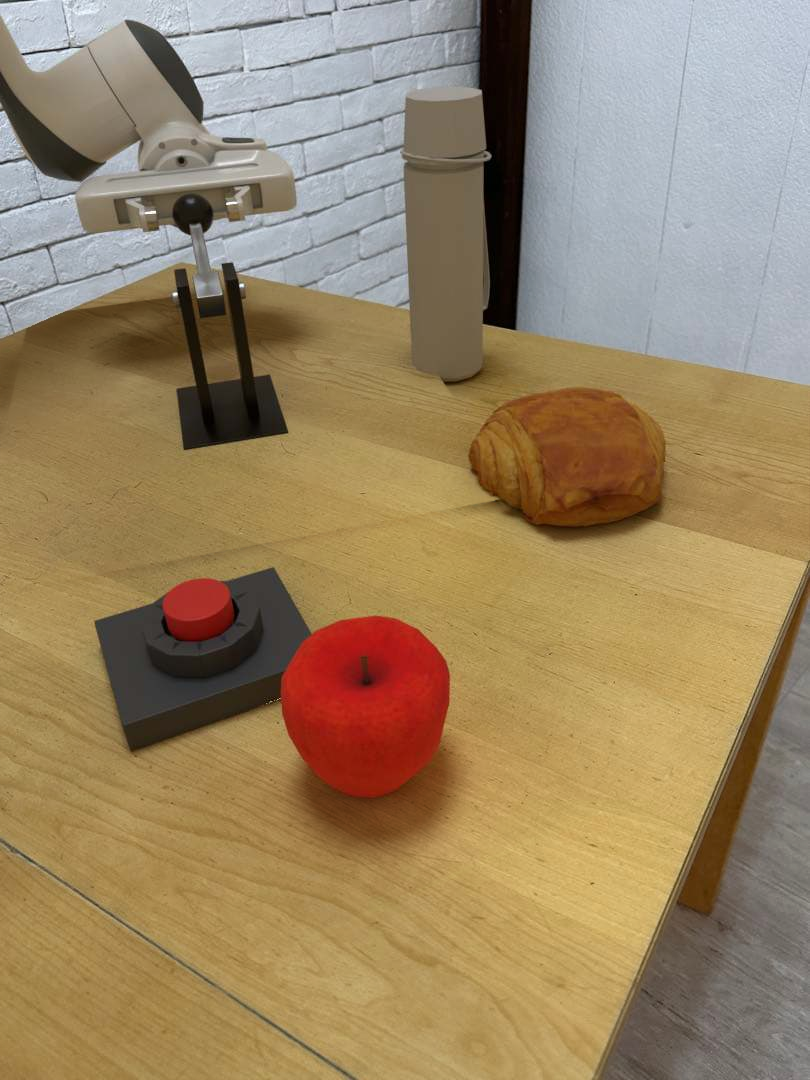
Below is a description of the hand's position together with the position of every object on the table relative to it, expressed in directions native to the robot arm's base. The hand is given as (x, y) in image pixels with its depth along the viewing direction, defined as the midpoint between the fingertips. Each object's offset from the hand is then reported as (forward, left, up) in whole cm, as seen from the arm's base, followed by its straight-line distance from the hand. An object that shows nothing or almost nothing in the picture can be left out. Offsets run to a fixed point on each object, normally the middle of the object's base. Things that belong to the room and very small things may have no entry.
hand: (193, 217), depth 80 cm
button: (-11, -39, -13) cm, 43 cm away
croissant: (+20, -32, -16) cm, 41 cm away
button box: (-11, -39, -16) cm, 44 cm away
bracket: (-1, -8, -16) cm, 18 cm away
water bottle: (+22, -8, -16) cm, 28 cm away
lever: (0, -3, -4) cm, 5 cm away
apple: (-5, -51, -16) cm, 54 cm away
